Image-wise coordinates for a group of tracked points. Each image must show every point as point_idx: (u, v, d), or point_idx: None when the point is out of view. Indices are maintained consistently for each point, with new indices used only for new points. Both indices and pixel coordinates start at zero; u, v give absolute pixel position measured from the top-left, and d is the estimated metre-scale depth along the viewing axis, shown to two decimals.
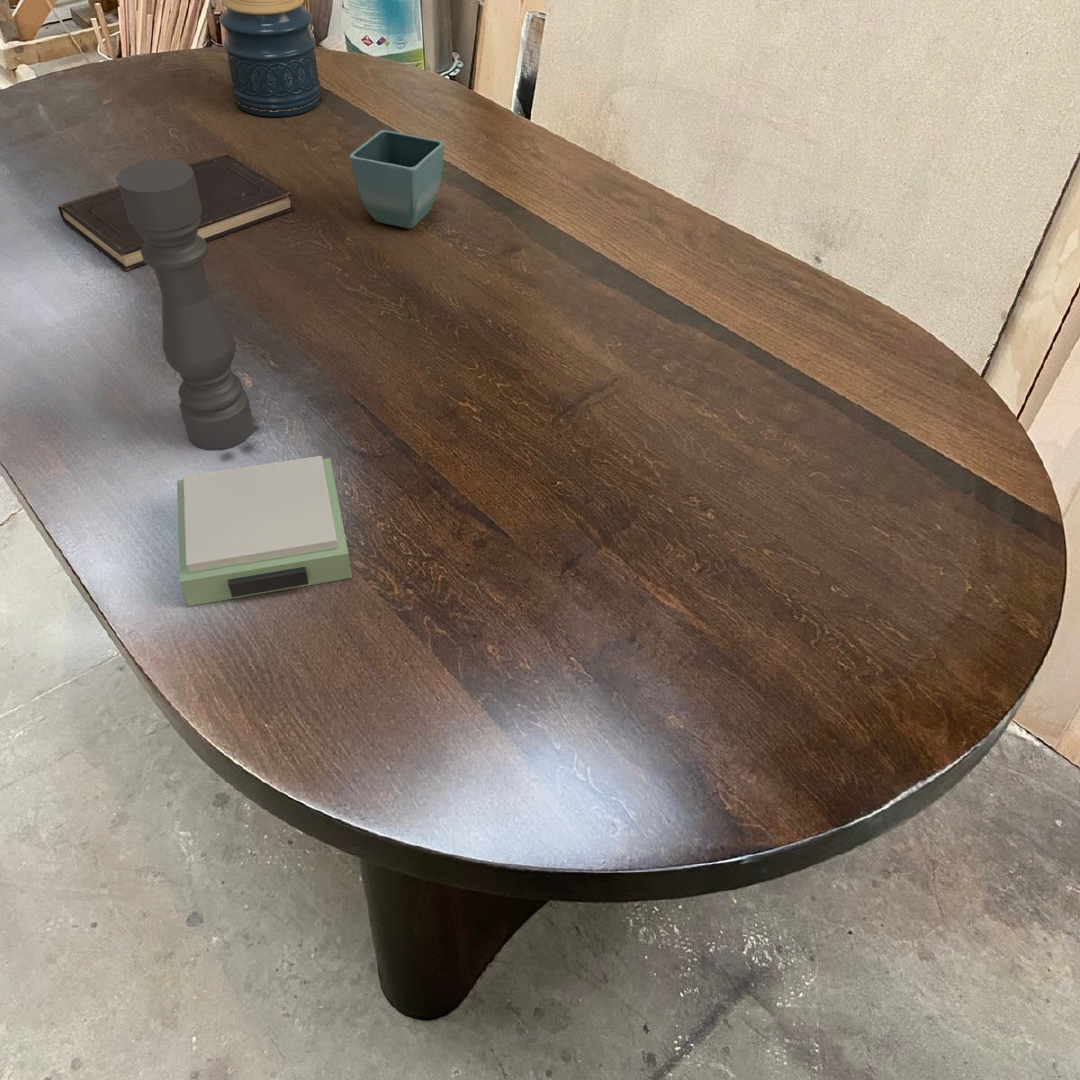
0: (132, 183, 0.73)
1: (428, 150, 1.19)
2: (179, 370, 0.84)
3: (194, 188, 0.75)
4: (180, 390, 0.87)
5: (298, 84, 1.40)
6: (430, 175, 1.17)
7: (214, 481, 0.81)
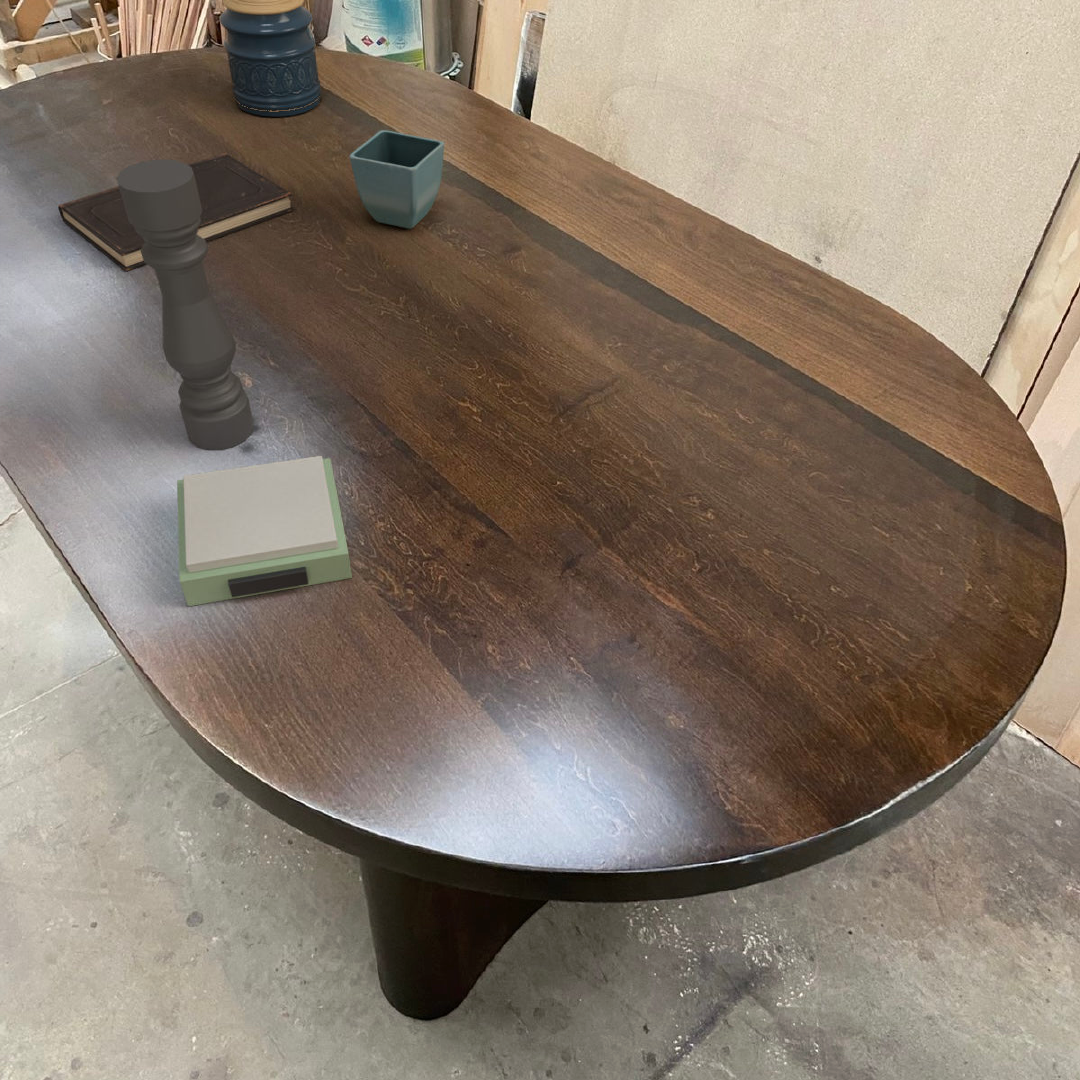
0: (132, 183, 0.73)
1: (428, 150, 1.19)
2: (179, 370, 0.84)
3: (194, 188, 0.75)
4: (180, 390, 0.87)
5: (298, 84, 1.40)
6: (430, 175, 1.17)
7: (214, 481, 0.81)
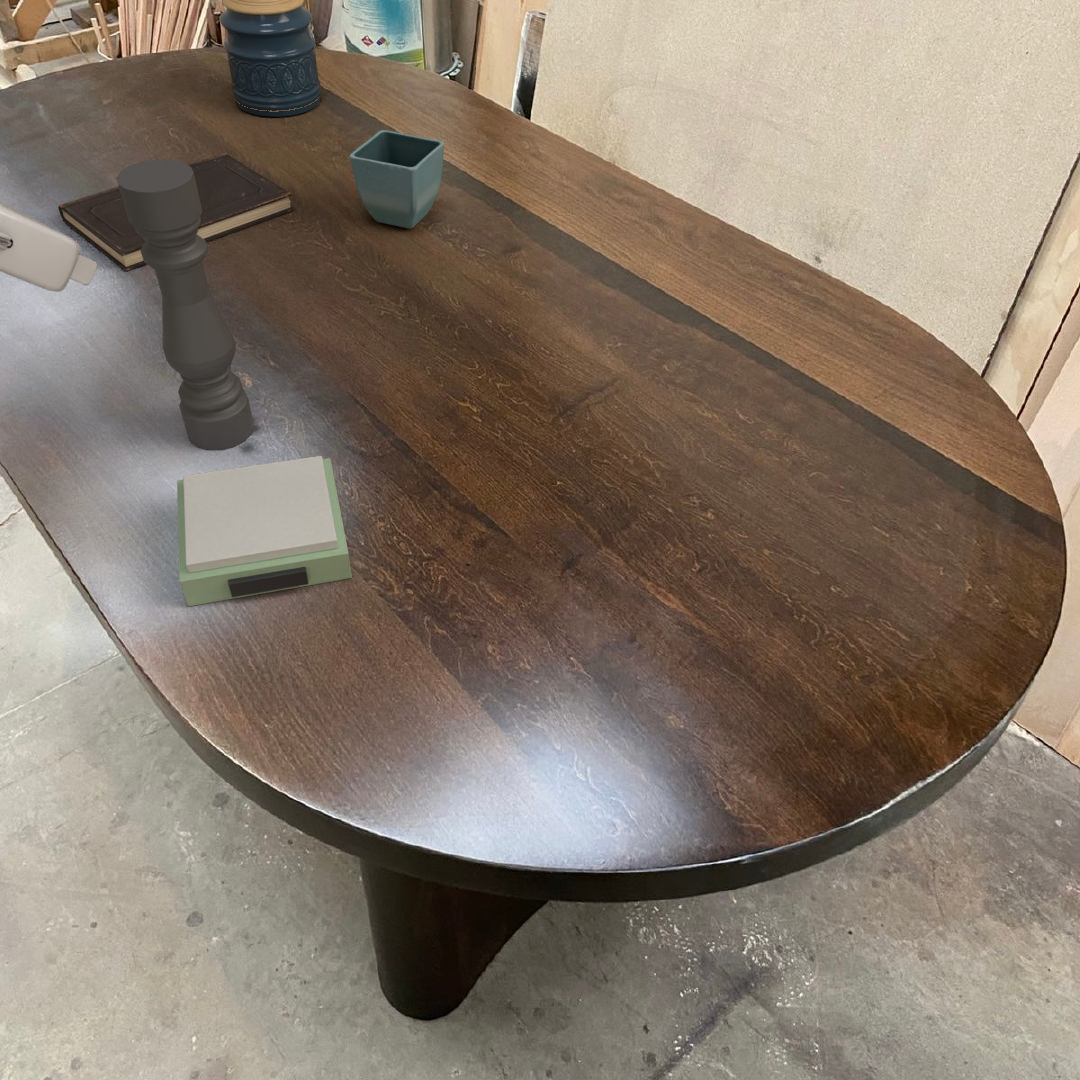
0: (132, 183, 0.73)
1: (428, 150, 1.19)
2: (179, 370, 0.84)
3: (194, 188, 0.75)
4: (180, 390, 0.87)
5: (298, 84, 1.40)
6: (430, 175, 1.17)
7: (214, 481, 0.81)
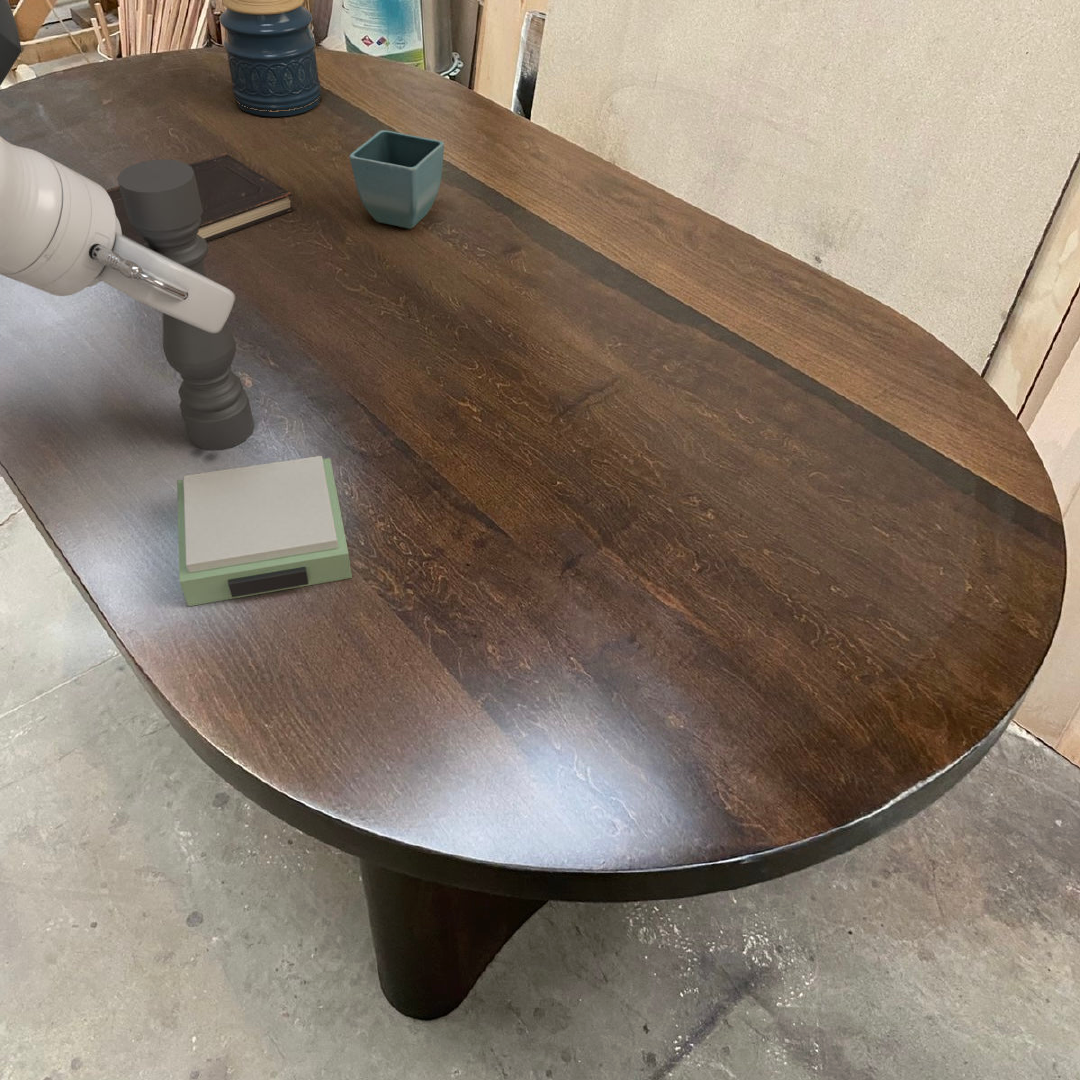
0: (133, 183, 0.73)
1: (428, 150, 1.19)
2: (179, 370, 0.84)
3: (195, 188, 0.75)
4: (180, 390, 0.87)
5: (298, 84, 1.40)
6: (430, 175, 1.17)
7: (214, 481, 0.81)
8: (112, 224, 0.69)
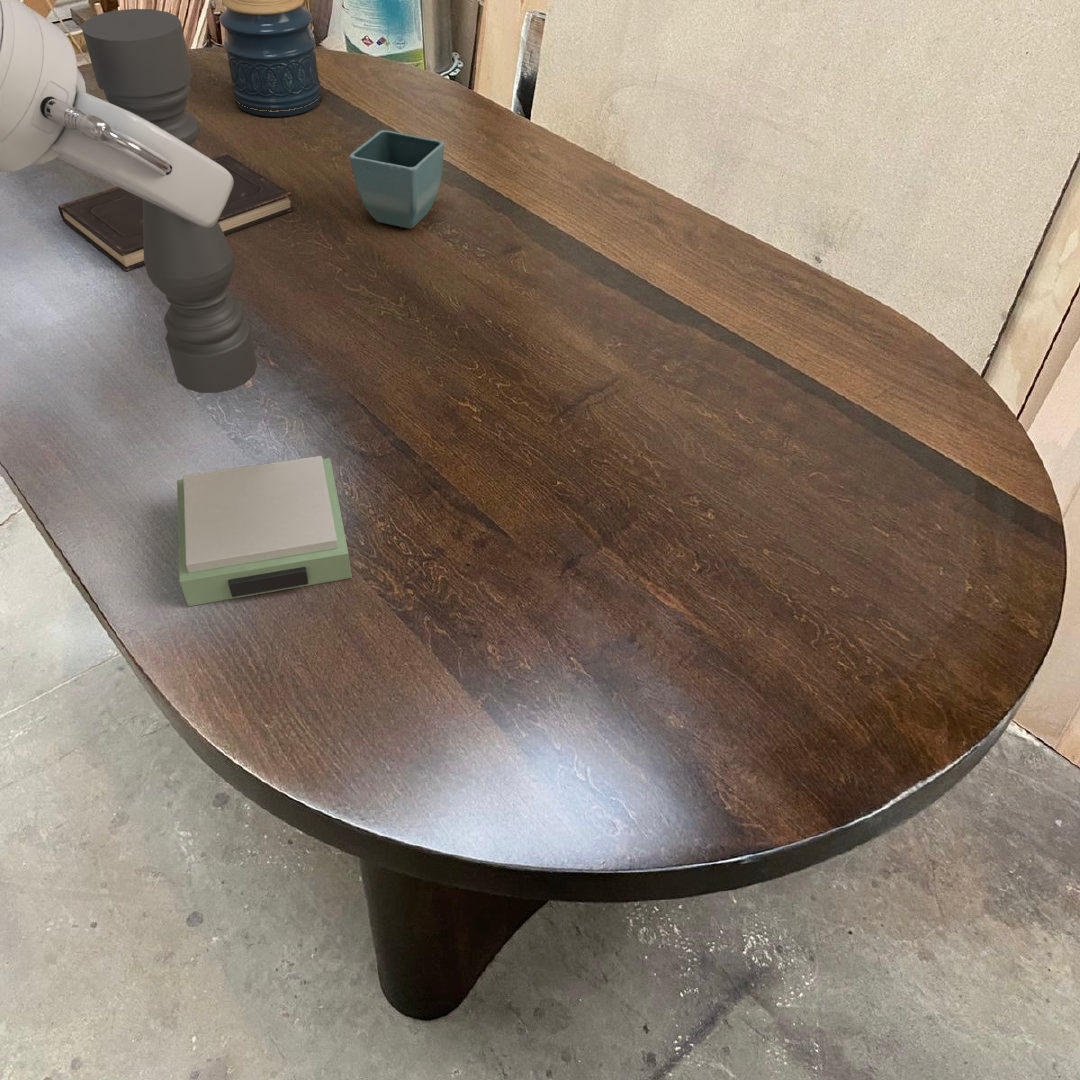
0: (101, 32, 0.56)
1: (428, 150, 1.19)
2: (164, 289, 0.67)
3: (182, 43, 0.58)
4: (166, 317, 0.71)
5: (298, 84, 1.40)
6: (430, 175, 1.17)
7: (214, 481, 0.81)
8: (72, 74, 0.52)
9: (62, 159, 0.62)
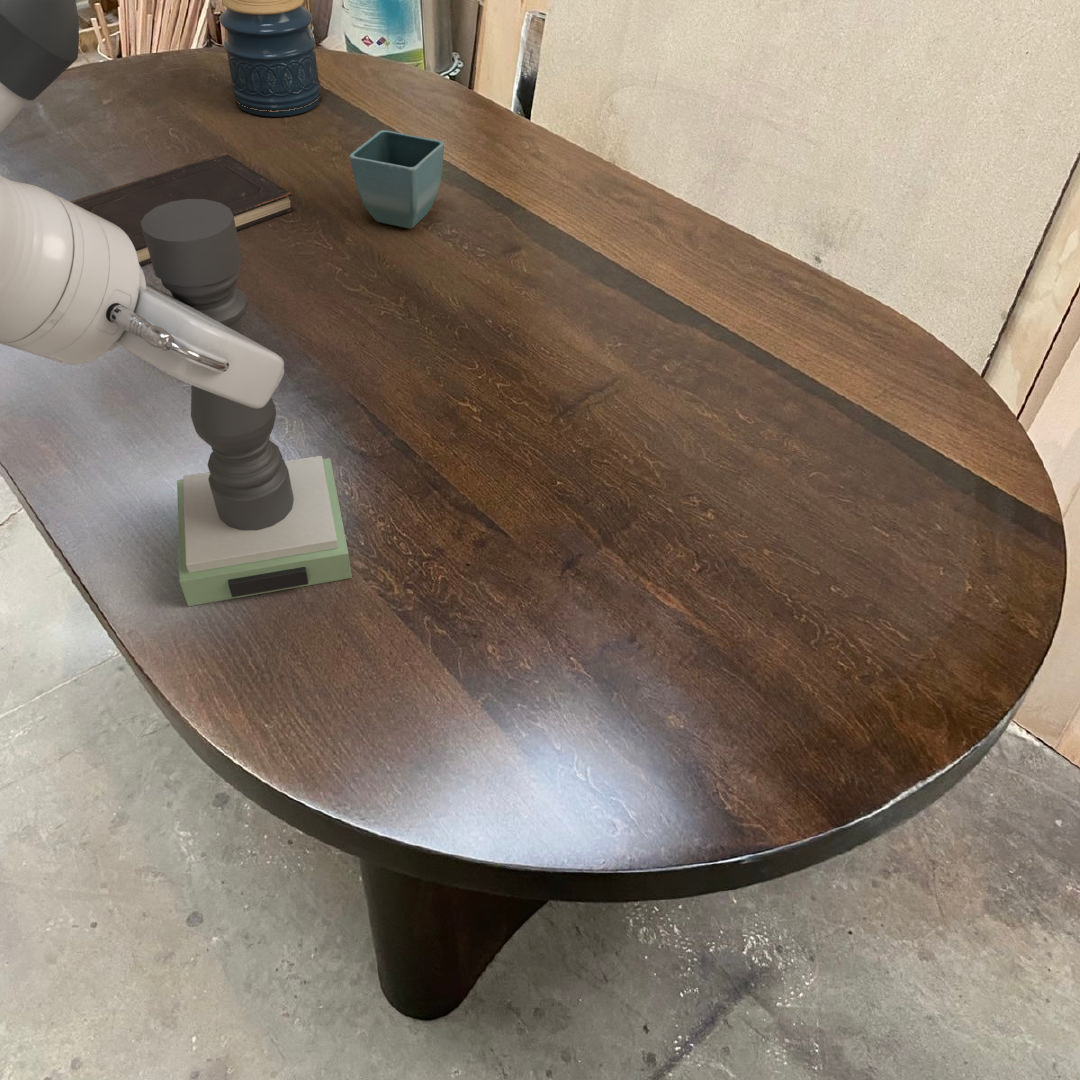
0: (160, 230, 0.60)
1: (428, 150, 1.19)
2: (211, 443, 0.71)
3: (234, 234, 0.62)
4: (210, 463, 0.75)
5: (298, 84, 1.40)
6: (430, 175, 1.17)
7: None
8: (135, 278, 0.55)
9: None
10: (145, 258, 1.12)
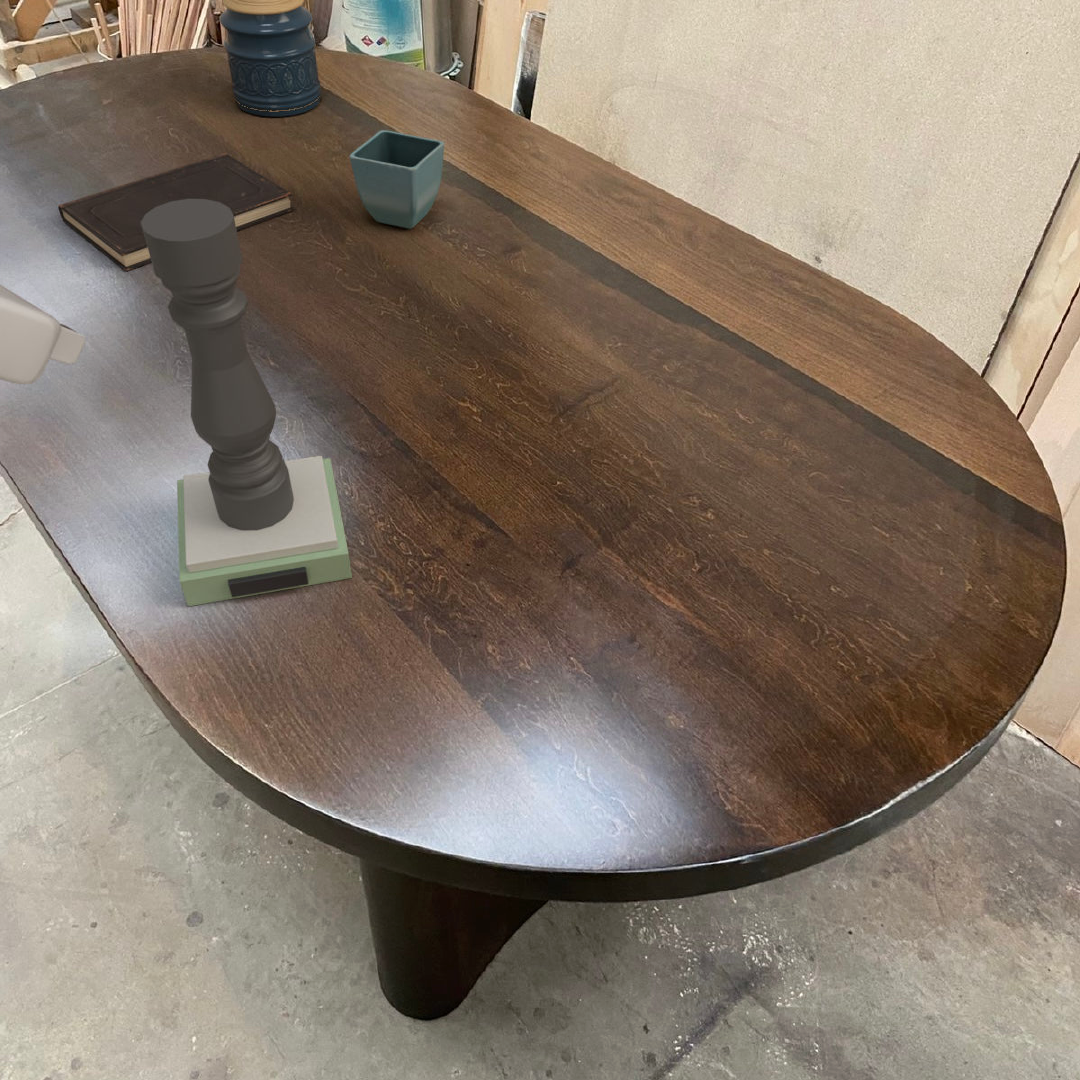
0: (160, 230, 0.60)
1: (428, 150, 1.19)
2: (211, 443, 0.71)
3: (234, 234, 0.62)
4: (210, 463, 0.75)
5: (298, 84, 1.40)
6: (430, 175, 1.17)
7: None
8: None
9: None
10: (145, 258, 1.12)
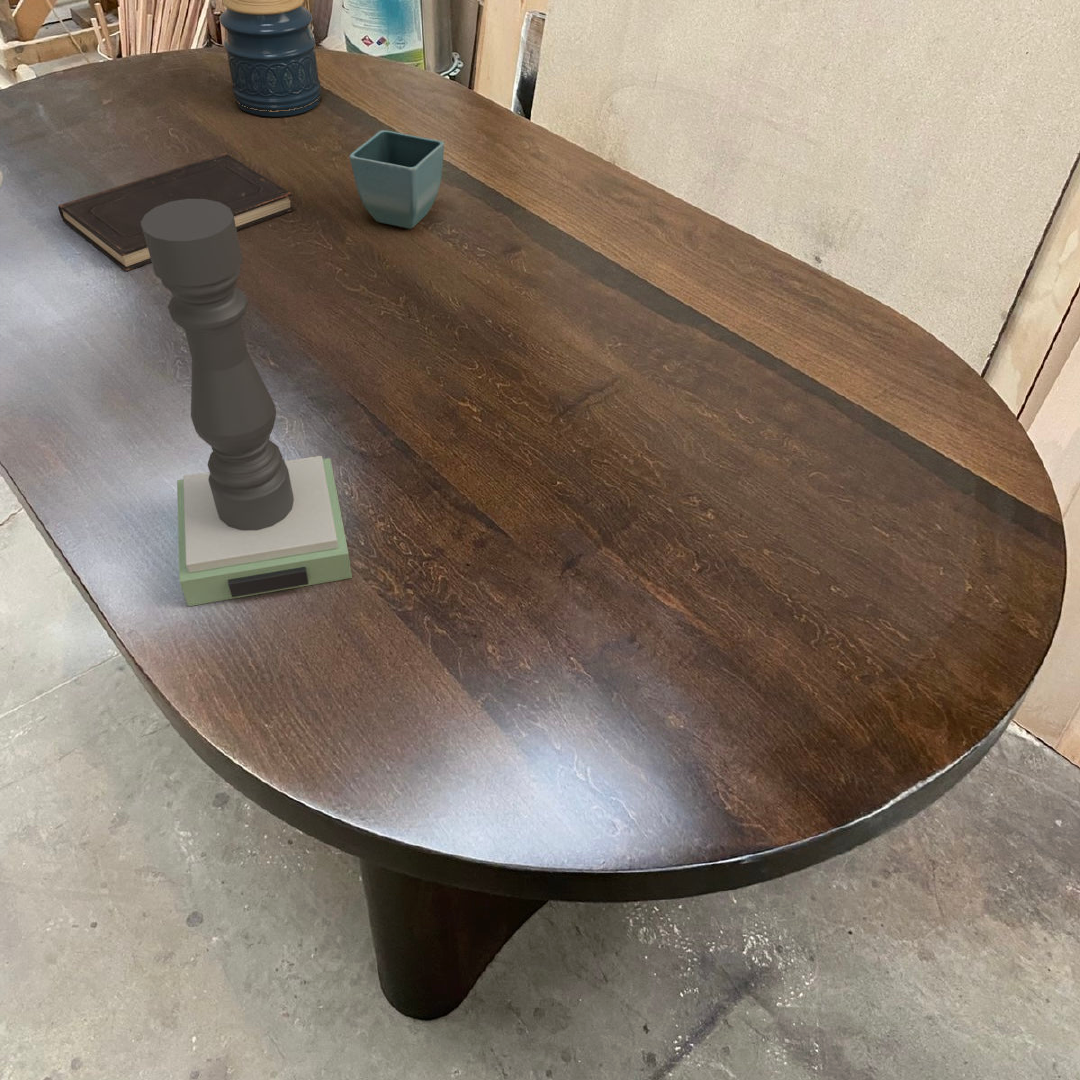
0: (160, 229, 0.60)
1: (428, 150, 1.19)
2: (211, 443, 0.71)
3: (234, 234, 0.62)
4: (210, 463, 0.75)
5: (298, 84, 1.40)
6: (430, 175, 1.17)
7: None
8: None
9: None
10: (145, 258, 1.12)
